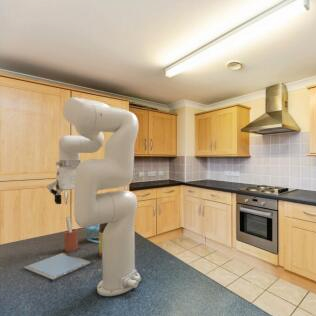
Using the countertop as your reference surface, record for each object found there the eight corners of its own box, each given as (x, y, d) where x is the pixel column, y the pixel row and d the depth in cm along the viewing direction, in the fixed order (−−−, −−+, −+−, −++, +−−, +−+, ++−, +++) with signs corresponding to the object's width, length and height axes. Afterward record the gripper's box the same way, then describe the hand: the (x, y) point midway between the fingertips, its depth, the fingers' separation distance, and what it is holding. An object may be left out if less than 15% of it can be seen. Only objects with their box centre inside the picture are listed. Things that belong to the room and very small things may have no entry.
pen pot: (80, 249, 98) (79, 230, 98) (68, 253, 94) (68, 233, 94) (74, 247, 100) (73, 228, 100) (62, 251, 95) (62, 232, 95)
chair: (95, 237, 112) (95, 214, 112) (109, 237, 111) (109, 215, 111) (82, 243, 105) (82, 219, 105) (97, 243, 104) (97, 219, 103)
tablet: (91, 263, 85) (91, 261, 85) (52, 281, 73) (52, 278, 73) (62, 254, 93) (62, 252, 93) (23, 269, 81) (23, 266, 81)
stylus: (75, 248, 97) (70, 216, 98) (71, 249, 95) (66, 217, 97) (73, 248, 97) (68, 216, 98) (70, 250, 96) (65, 217, 97)
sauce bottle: (107, 258, 89) (106, 211, 89) (95, 257, 90) (94, 211, 90) (119, 251, 95) (118, 207, 95) (107, 250, 97) (106, 207, 96)
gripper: (51, 165, 87) (52, 206, 87) (94, 163, 102) (95, 198, 103) (42, 165, 90) (42, 205, 90) (85, 163, 105) (85, 197, 106)
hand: (71, 201), depth 96 cm, fingers open, 9 cm apart
